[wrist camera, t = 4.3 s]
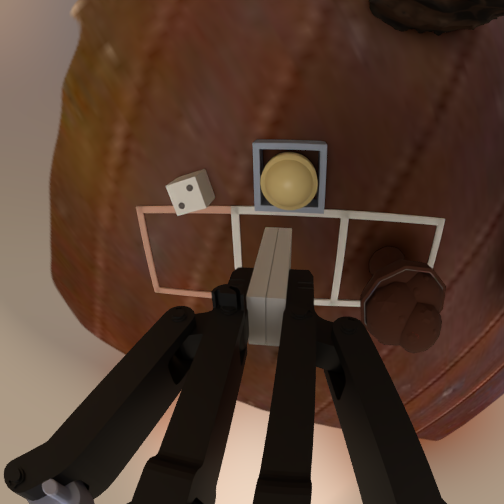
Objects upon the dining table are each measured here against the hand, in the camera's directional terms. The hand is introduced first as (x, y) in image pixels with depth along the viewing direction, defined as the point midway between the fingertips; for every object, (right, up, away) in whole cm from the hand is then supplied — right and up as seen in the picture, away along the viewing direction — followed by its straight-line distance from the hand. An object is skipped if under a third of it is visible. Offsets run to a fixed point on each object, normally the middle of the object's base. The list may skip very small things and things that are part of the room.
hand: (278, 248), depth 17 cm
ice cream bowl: (+17, -2, +20) cm, 27 cm away
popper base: (+3, +9, +17) cm, 19 cm away
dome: (+3, +8, +15) cm, 17 cm away
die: (-9, +8, +19) cm, 23 cm away
